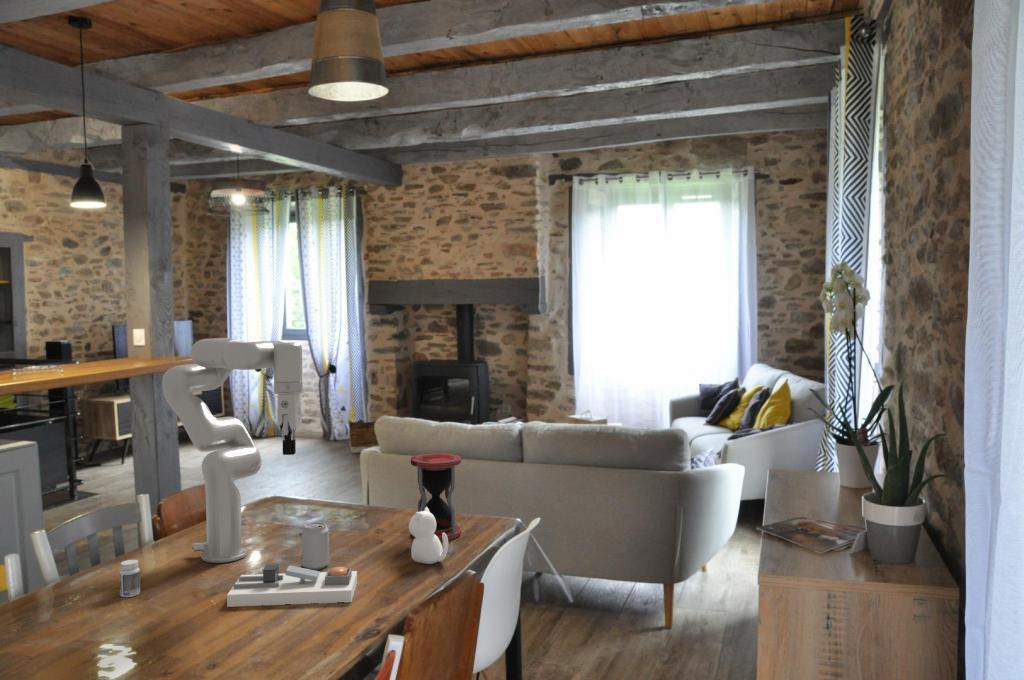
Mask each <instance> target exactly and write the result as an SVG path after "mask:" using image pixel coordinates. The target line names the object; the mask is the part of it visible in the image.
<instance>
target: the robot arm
mask: <svg viewBox="0 0 1024 680" xmlns="http://www.w3.org/2000/svg"><path fill="white" fill-rule="evenodd" d="M189 354H190V355H189V356H190V358H191V360H192V362H193V363H187V364H179V365H175V366H172V367H170V368H169V369H167V371H165V372H164V374H163V376H162V383H161V384H162V391H163V392H162V393H163V397H164V399H165V400H166V402H167V404H168V405H169V407H170V408H171V409H172V410H173V412H174V413H175V415H176V416H177V417H178V419H179V421H180V422H181V424H182V426H183V428H184V430H185V431H186V433H187V435H188V437H189V440H190V441H191V442H192V444H193V446H194V447H195V448H196V449H197V451H199V452H203V453H205V452H207V453H208V452H209V453H208V454H207V455H206V456H204V458H203V459H202V462H201V472H202V473H201V474H202V477H203V482H204V489H205V507H206V509H205V510H206V513H205V514H206V515H205V516H206V517H205V518H206V541H204V542H195V543H194V542H192V546H191V547H192V549H191V550H193V552H202V553H201V556H200V557H201V560H202V562H206V563H212V564H223V563H231V562H234V561H239V560H241V559H243V558H245V557H246V556H247V555H248V549H247V548H245V547H243V546H242V502H241V501H242V499H241V493H240V490H239V488H238V487H237V485H236V484H235V481H237V480H239V479H244V478H245V479H246V478H248V477H251V476H254V475H256V474H258V472H259V471H260V470H261V468H262V457H261V454H260V451H259V449H258V447H257V445H256V444H255V442H254V440H253V439H252V437H251V435H250V433H249V431H248V430H247V428H246V426H245V424H244V423H243V422H242V421H241V420H240V419H239V418H237V417H234V416H221V417H216V416H214V415H213V414H212V411H211V410H210V408H209V407H208V405H207V403H205V402H204V401H203V399H201V398H200V397H198V396H196V395H194V394H193V393H194V392H195V393H196V392H204V391H213V390H216V389H218V388H219V387H221V386H222V385H223V384H224V383H225V382H226V380H227V379H228V377H229V376H230V375H231V373H232V372H233V370H241V371H242V370H246V371H247V370H248V371H249V370H251V371H253V370H254V371H255V370H261V369H273V394H274V395H277V428H278V430H279V431H282V455H283V456H293V455H295V454H296V453H297V452H296V451H297V450H296V448H297V445H296V441H297V440H296V431H297V430H298V429H299V428H300V427H301V426H302V423H303V421H302V419H303V418H302V401H301V394H303V347H302V345H301V344H300V342H299V343H298V342H291V341H290V342H285V341H279V340H262V341H245V342H244V341H243V342H241V341H240V340H239V339H238V338H237V339H236V338H230V337H216V338H214V337H213V338H203V339H200V340H197V341H196V342H195V343H194V344H193V345H192V346H191V348H190V353H189Z"/></svg>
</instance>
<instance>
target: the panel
mask: <svg viewBox="0 0 1024 680" xmlns="http://www.w3.org/2000/svg"><path fill="white" fill-rule="evenodd" d="M346 568H347V576H330V569H331V568H327V571H322V572H321V571H320V573H319V577H318V579H317V581H311V580H307V579H302V578H297V577H292V576H287V575H285V573H286V572H283V573H279V580H278V581H277V582H273V583H263V573H259V574H257V573H255V574H241V575H240V576H238V579H237V581H236V582H235V583H233V586H232V587H231V589H230V590H229V592H228V593H227V594H226V598H227V599H226V604H227V607H226V608H228V607H229V608H232V607H256V606H262V605H263V606H285V604H291V605H312V604H313V603H318V604H338V603H337V602H344V603H352V601H353V599H352V598H354V596H355V595H354V594H355V592H354V591H356V588H357V585H356V584H358V570H352V569H353V568H351V567H346ZM311 603H312V604H311Z"/></svg>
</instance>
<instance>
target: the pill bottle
mask: <svg viewBox="0 0 1024 680" xmlns="http://www.w3.org/2000/svg"><path fill="white" fill-rule="evenodd" d="M118 576H119V596H120V597H121V598H132V597H135V596H138V595H139V594H140V593H141V569H140V568H139V560H138V559H128V560H124V561H122V562H120V570H119V575H118Z"/></svg>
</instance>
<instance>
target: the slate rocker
mask: <svg viewBox="0 0 1024 680" xmlns="http://www.w3.org/2000/svg"><path fill="white" fill-rule="evenodd" d="M320 572H321V571H320V570H319V571H318V570H310V569H306V568H305V567H304V568H303V567H300V566H295V565H288V566H287V568H286V571H285V572H284V573H285V575H287V576H292V577H297V578H302V579H307V580H311V581H317V579H318V577H319V573H320Z"/></svg>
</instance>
